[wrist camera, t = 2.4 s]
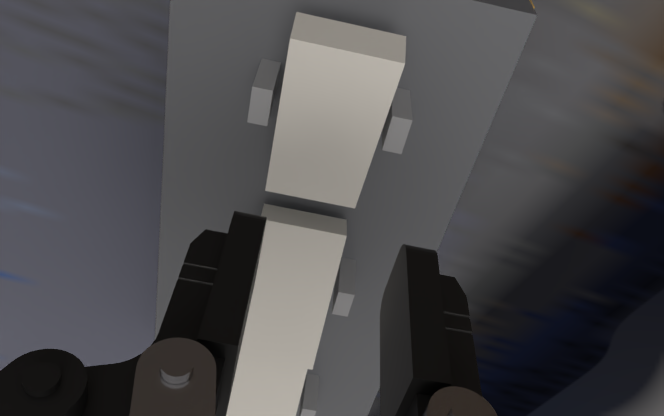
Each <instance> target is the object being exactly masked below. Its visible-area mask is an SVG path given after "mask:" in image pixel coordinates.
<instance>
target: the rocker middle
mask: <svg viewBox="0 0 664 416" xmlns="http://www.w3.org/2000/svg"><path fill="white" fill-rule="evenodd" d="M261 216H264V217H267V220H266V226H265V231H264V236H263V242H262V247H261V253H260V258H259V264H258V269H257V274H256V279H255V284H254V289H253V294H252V298H251V303H250V308H249V312H248V317H247V322H246V326H245V331H244V335H243V340H242V345H241V349H240V354H239V357H242V358H248V359H254V360H259V361H265V362H271V363H276V364H282V365H288V366H294V367H299V368H305V369H311V370H312V369H313V366H314V362H315V358H316V354H317V350H318V346H319V342H320V338H321V335H322V331H323V327H324V323H325V319H326V315H327V311H328V307H329V303H330V300H331V296H332V292H333V288H334V284H335V280H336V276H337V272H338V269H339V265H340V261H341V257H342V253H343V249H344V245H345V241H346V237H347V220H345V219H340V218H335V217H330V216H325V215H320V214H315V213H310V212H305V211H300V210H295V209H289V208H284V207H279V206H274V205H269V204H264V206H263V210H262V214H261Z"/></svg>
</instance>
